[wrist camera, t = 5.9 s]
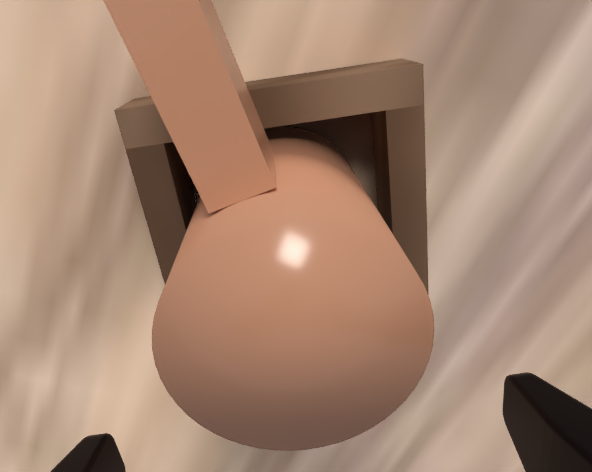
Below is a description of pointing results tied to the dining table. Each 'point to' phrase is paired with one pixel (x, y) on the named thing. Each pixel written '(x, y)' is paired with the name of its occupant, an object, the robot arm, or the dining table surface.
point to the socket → (292, 110)
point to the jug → (270, 258)
